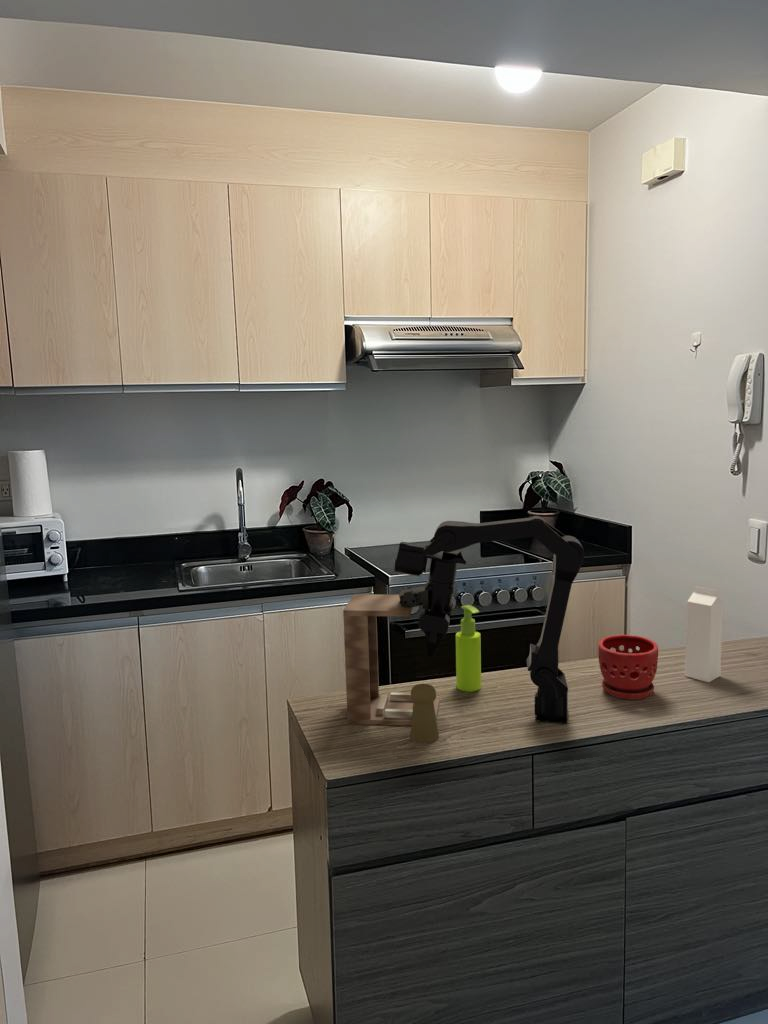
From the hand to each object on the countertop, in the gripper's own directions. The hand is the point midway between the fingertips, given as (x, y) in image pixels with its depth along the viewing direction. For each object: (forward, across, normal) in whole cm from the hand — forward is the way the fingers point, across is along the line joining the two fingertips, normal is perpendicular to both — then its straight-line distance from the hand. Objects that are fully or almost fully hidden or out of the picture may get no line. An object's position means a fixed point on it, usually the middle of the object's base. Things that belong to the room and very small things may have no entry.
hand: (431, 648), depth 165 cm
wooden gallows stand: (+16, 0, -6) cm, 17 cm away
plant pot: (+8, -15, +46) cm, 49 cm away
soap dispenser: (+14, -15, +10) cm, 23 cm away
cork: (+15, +12, +2) cm, 19 cm away
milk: (+5, -27, +65) cm, 70 cm away
